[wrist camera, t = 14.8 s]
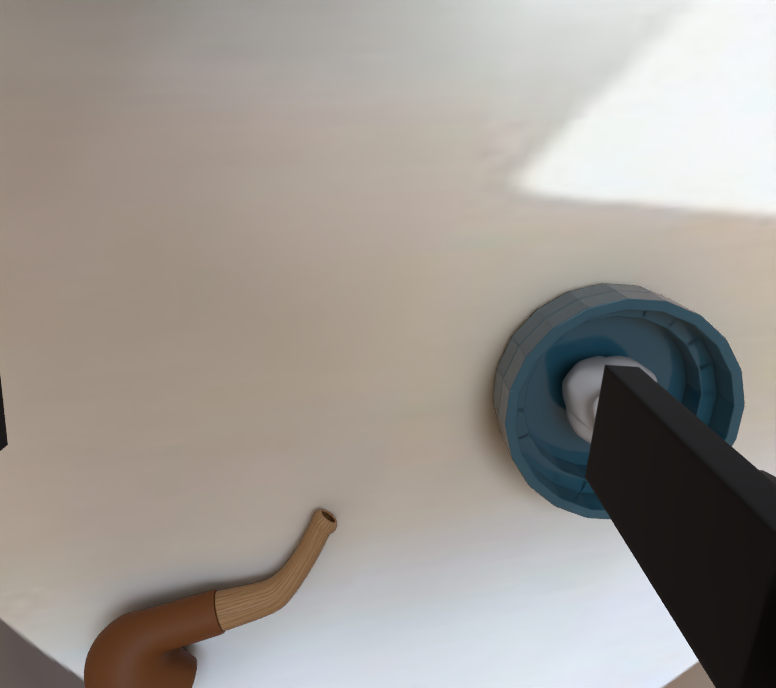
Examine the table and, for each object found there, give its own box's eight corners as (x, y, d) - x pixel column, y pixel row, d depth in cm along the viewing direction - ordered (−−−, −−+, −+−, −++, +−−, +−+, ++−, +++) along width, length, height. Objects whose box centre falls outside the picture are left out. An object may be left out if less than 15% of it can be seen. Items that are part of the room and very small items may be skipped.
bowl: (506, 274, 39) (522, 291, 34) (726, 289, 39) (769, 307, 35) (481, 475, 43) (493, 513, 38) (681, 486, 43) (715, 525, 39)
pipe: (83, 634, 46) (42, 705, 40) (271, 457, 42) (255, 507, 36) (166, 694, 47) (138, 771, 42) (354, 529, 44) (352, 588, 38)
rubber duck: (588, 325, 39) (640, 370, 32) (672, 383, 40) (741, 440, 33) (532, 395, 40) (569, 455, 33) (614, 450, 42) (668, 520, 34)
